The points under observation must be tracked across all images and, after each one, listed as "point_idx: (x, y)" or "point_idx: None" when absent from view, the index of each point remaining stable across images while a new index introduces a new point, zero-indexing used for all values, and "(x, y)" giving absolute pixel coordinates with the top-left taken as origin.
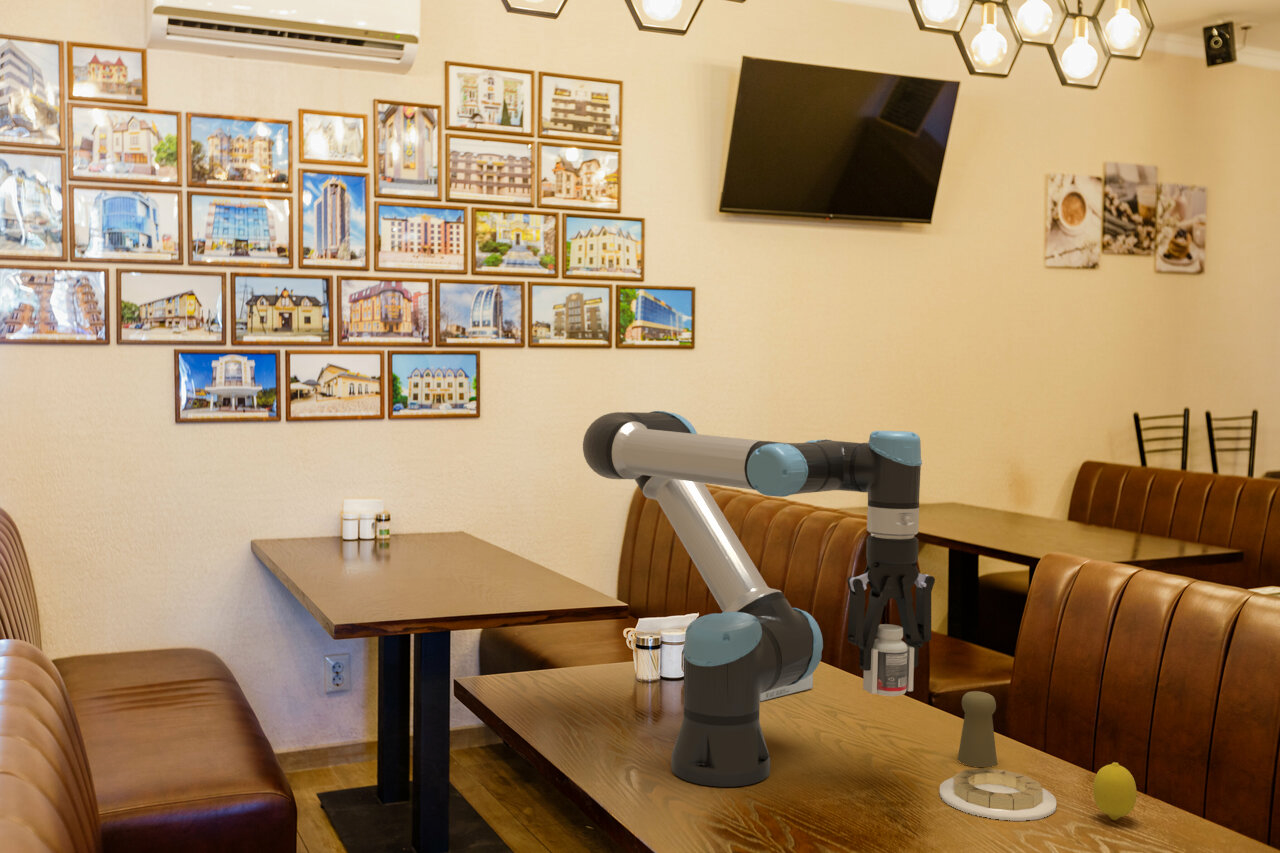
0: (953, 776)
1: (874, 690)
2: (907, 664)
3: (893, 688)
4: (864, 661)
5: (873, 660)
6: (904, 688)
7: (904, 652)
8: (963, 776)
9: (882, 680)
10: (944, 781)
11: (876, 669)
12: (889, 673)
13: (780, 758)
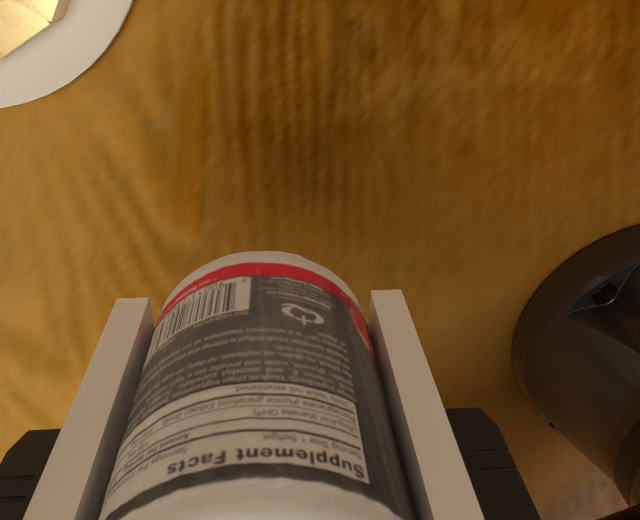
0: (52, 22)
1: (390, 301)
2: (112, 443)
3: (286, 272)
4: (510, 463)
5: (459, 452)
6: (192, 284)
7: (163, 491)
8: (11, 1)
9: (355, 330)
10: (78, 73)
11: (407, 397)
12: (320, 346)
13: (445, 370)
